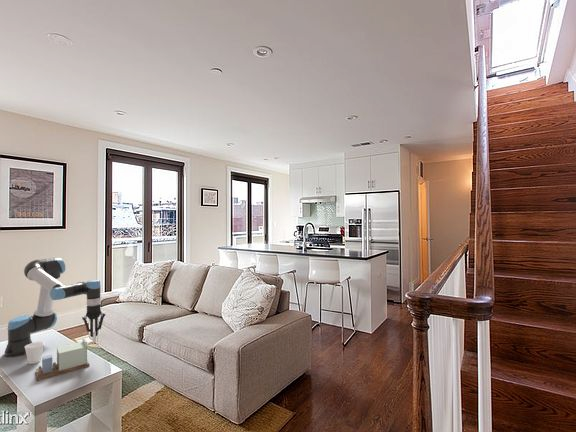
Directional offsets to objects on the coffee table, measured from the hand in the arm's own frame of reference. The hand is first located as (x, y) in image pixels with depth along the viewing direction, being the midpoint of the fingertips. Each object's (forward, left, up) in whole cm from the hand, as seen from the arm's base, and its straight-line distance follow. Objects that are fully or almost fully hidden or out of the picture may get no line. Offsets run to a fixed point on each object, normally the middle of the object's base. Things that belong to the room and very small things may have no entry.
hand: (94, 341), depth 198 cm
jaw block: (0, -24, -11) cm, 26 cm away
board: (0, -16, -13) cm, 20 cm away
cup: (-23, -29, -13) cm, 39 cm away
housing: (0, -12, -11) cm, 16 cm away
